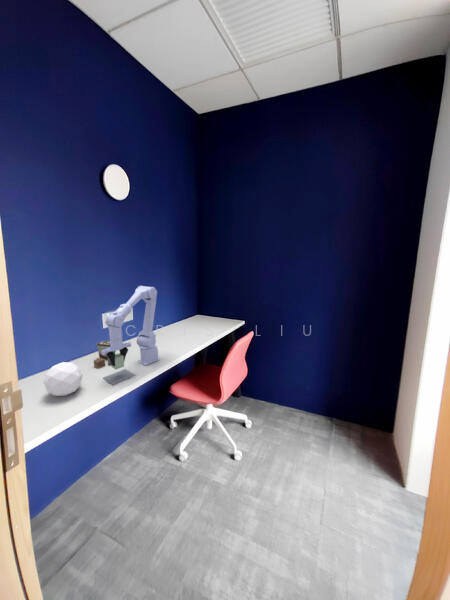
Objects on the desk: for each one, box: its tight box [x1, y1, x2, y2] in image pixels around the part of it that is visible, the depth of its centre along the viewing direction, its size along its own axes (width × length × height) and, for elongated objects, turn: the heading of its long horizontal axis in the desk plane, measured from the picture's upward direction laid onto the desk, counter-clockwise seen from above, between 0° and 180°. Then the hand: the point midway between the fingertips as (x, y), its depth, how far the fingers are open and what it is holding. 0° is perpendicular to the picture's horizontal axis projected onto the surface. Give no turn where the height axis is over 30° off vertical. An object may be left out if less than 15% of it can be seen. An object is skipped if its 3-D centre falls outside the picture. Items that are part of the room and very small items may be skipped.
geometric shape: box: [43, 361, 83, 397], centre depth 114 cm, size 14×15×15 cm
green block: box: [110, 352, 125, 370], centre depth 128 cm, size 4×4×6 cm
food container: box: [96, 340, 116, 361], centre depth 151 cm, size 12×6×10 cm, turn 74°
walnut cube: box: [93, 357, 106, 370], centre depth 141 cm, size 4×4×4 cm
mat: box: [102, 368, 136, 386], centre depth 130 cm, size 12×10×1 cm
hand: (118, 363), depth 128 cm, fingers closed on green block, 4 cm apart
